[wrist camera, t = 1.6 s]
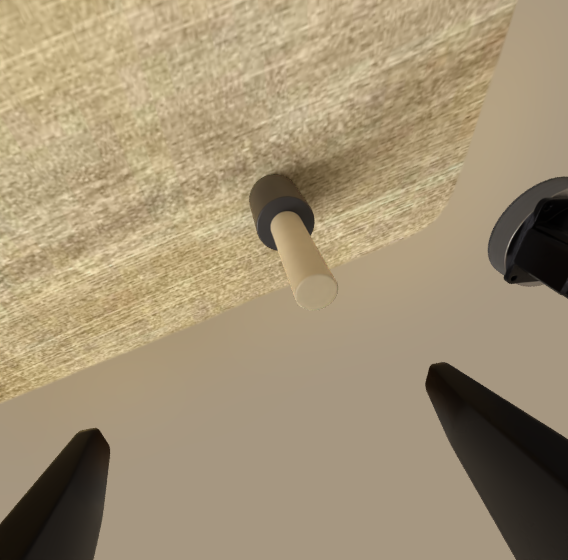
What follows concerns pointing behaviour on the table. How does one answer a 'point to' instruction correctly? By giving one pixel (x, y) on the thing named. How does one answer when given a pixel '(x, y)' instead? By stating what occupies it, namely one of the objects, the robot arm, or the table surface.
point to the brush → (292, 239)
